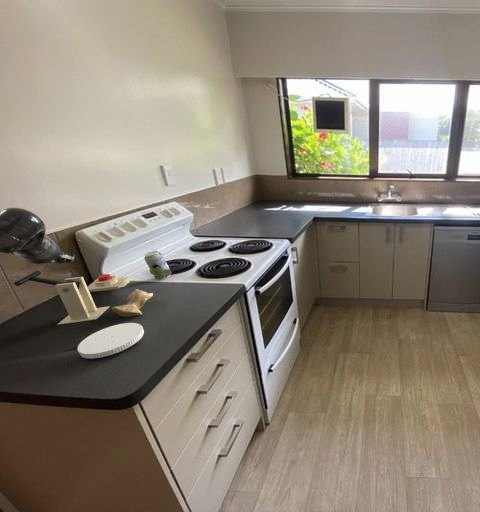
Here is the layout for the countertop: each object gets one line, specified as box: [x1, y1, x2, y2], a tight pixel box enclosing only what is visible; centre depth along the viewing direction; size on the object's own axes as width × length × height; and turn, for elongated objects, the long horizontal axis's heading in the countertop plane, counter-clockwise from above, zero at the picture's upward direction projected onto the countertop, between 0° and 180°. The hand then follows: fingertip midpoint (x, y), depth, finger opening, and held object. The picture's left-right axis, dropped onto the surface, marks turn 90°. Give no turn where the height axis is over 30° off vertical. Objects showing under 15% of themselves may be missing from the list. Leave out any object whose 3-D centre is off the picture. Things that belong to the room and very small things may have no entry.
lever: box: [13, 270, 80, 289], centre depth 89 cm, size 12×8×2 cm, turn 108°
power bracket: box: [54, 276, 110, 326], centre depth 93 cm, size 10×8×14 cm
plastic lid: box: [77, 322, 145, 359], centre depth 83 cm, size 14×14×2 cm
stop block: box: [87, 274, 131, 293], centre depth 114 cm, size 11×9×4 cm
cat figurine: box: [111, 288, 154, 318], centre depth 98 cm, size 8×7×12 cm
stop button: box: [97, 273, 112, 282], centre depth 113 cm, size 4×4×2 cm
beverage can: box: [143, 250, 173, 281], centre depth 121 cm, size 6×7×12 cm
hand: (53, 260), depth 91 cm, fingers closed
